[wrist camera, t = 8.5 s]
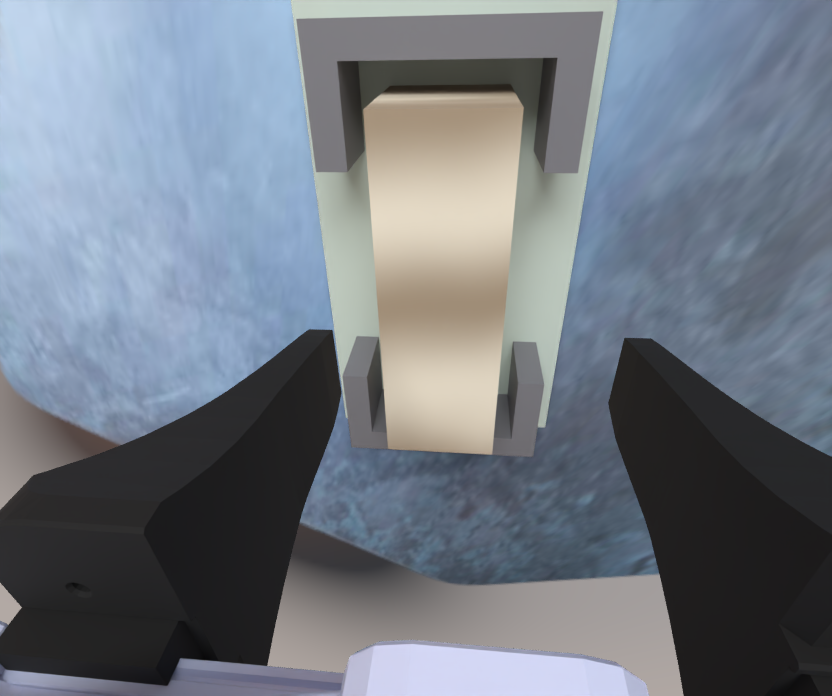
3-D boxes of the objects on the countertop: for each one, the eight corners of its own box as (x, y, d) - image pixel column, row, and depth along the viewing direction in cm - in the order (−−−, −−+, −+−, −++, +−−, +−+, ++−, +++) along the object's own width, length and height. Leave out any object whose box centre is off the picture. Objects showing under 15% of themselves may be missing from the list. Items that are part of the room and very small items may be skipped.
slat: (488, 375, 23) (492, 454, 19) (402, 372, 23) (387, 448, 19) (510, 84, 16) (523, 108, 12) (390, 85, 17) (362, 109, 12)
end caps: (542, 414, 25) (553, 474, 22) (349, 404, 26) (332, 461, 23) (614, -29, 15) (654, -41, 12) (297, -19, 16) (252, -27, 13)
